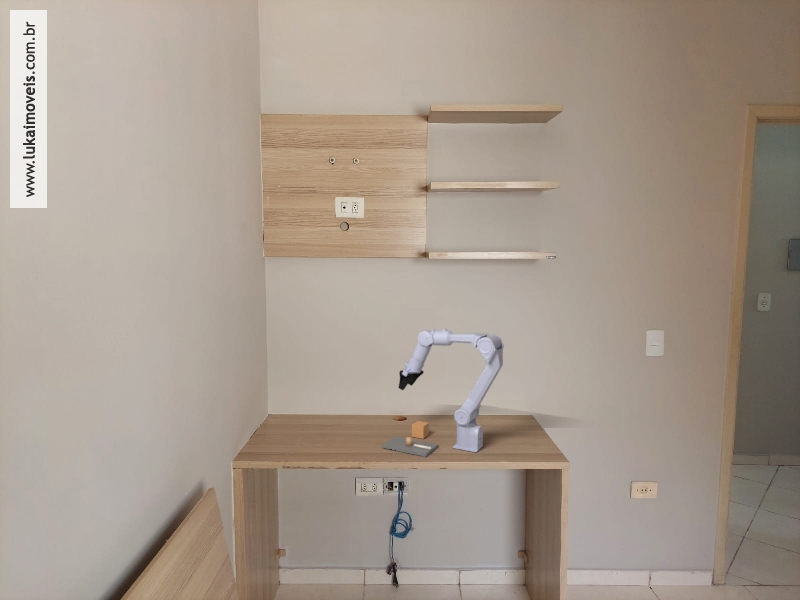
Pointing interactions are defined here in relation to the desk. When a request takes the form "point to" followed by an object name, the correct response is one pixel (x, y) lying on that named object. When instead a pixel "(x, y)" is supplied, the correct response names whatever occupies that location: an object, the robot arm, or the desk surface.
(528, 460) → the desk surface
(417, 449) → the plate
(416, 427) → the orange cube
